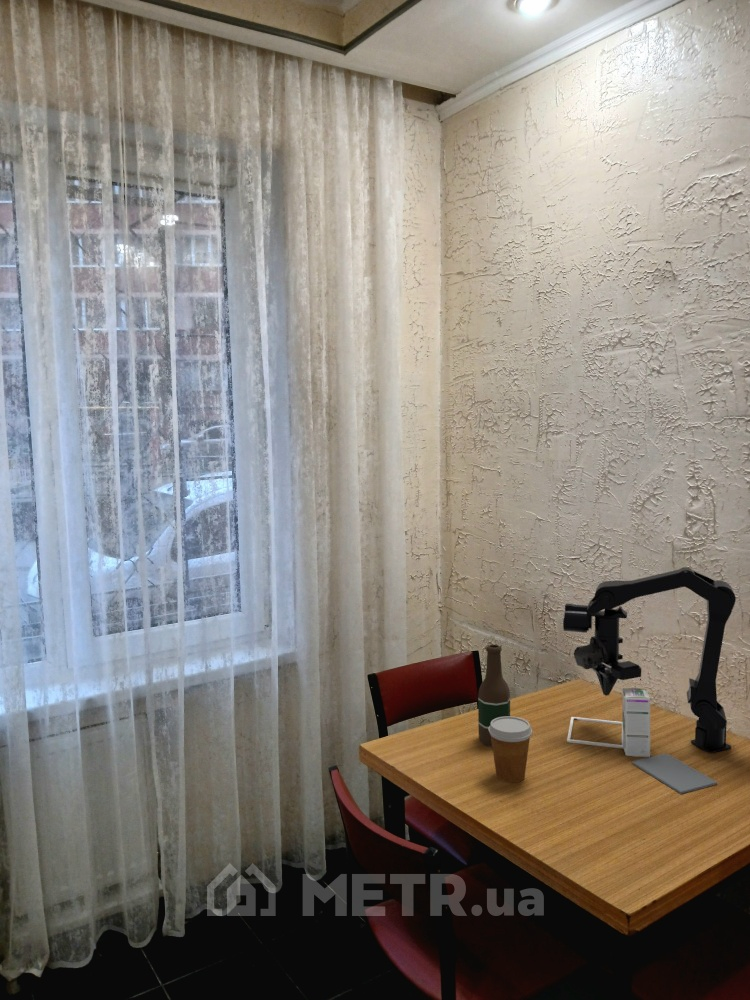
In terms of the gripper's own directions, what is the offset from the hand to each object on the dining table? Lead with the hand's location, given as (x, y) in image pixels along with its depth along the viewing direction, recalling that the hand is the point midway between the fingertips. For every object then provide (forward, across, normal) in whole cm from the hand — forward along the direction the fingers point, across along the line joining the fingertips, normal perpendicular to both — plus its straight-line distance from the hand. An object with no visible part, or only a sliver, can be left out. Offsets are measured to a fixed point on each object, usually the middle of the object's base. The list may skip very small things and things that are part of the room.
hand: (606, 695), depth 186 cm
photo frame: (+11, 0, 0) cm, 11 cm away
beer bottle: (+10, -8, -27) cm, 30 cm away
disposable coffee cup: (+10, +9, -33) cm, 36 cm away
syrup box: (+10, +11, 0) cm, 15 cm away
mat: (+10, +23, 0) cm, 25 cm away
